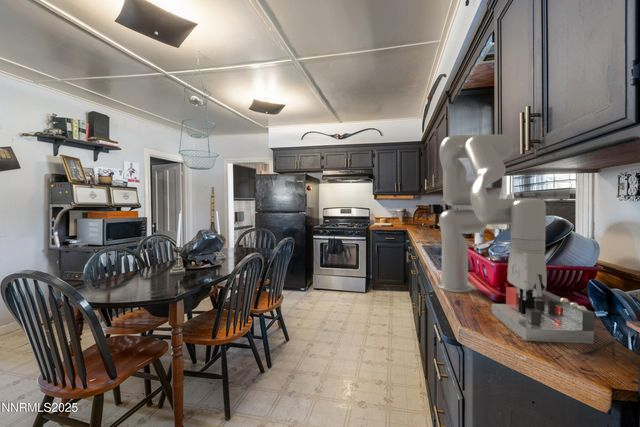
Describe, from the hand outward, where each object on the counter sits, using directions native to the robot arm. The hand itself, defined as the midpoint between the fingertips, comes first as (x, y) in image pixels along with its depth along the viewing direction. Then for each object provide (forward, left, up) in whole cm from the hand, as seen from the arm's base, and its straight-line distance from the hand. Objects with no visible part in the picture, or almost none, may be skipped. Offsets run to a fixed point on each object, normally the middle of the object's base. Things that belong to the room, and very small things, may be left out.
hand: (526, 313), depth 78 cm
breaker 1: (+3, 0, -1) cm, 3 cm away
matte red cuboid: (-16, +7, -4) cm, 18 cm away
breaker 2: (-6, +6, -1) cm, 8 cm away
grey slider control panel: (-2, +4, -4) cm, 6 cm away
